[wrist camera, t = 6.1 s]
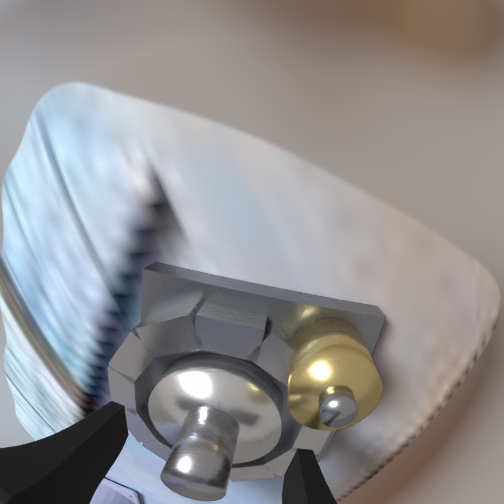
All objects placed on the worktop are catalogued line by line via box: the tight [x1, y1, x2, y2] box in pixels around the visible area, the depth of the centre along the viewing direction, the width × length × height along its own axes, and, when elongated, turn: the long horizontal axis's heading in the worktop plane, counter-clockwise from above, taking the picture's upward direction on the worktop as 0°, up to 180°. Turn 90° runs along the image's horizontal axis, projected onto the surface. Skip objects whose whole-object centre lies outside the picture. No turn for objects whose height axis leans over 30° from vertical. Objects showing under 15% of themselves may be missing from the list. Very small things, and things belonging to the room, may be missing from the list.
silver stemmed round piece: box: [148, 354, 282, 501], centre depth 10 cm, size 6×6×5 cm
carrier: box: [108, 262, 386, 482], centre depth 11 cm, size 11×11×5 cm
